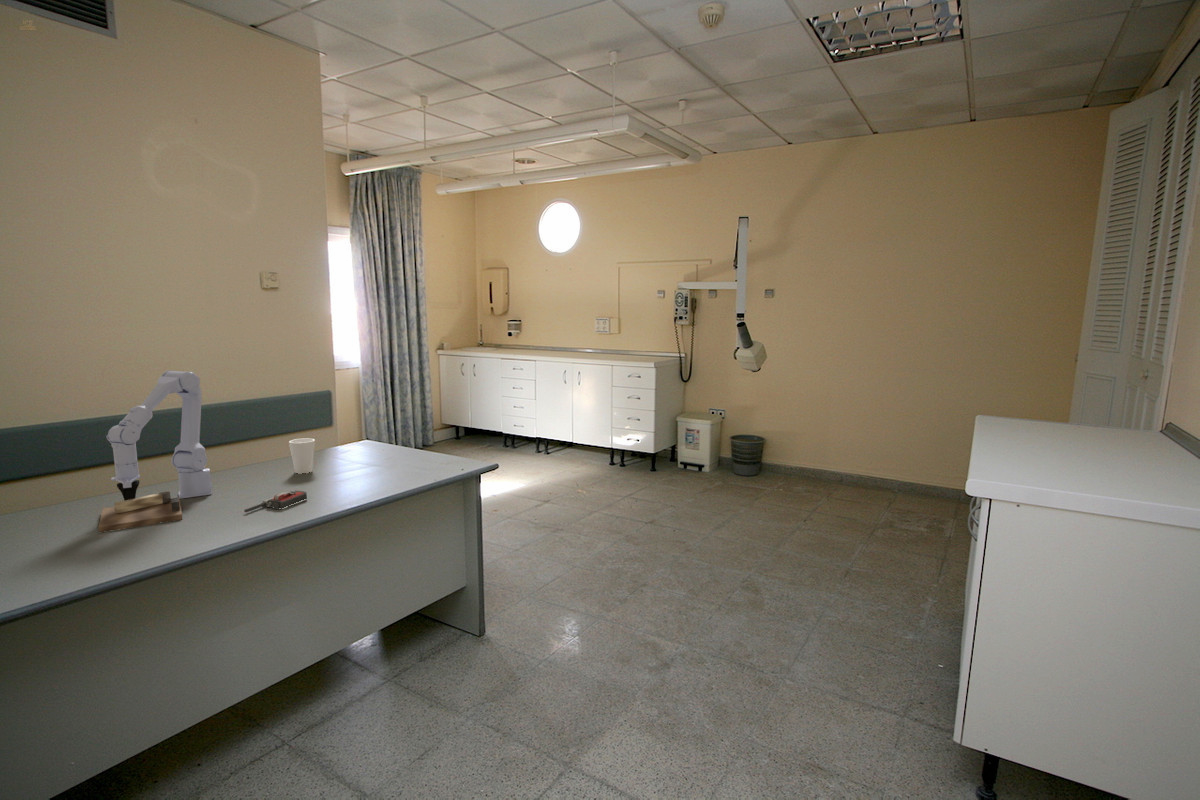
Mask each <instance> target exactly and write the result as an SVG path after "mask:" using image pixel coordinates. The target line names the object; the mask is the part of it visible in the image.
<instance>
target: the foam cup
mask: <svg viewBox="0 0 1200 800" xmlns="http://www.w3.org/2000/svg"><path fill="white" fill-rule="evenodd" d="M288 445H289V450H290V454H291V459H292V460H291V461H292V463H293V464H292V465H293V468H294V469H293V470H294V473H295V474H296V473H298V475H303V474H302V473H306V474H310V473H312V472H313V467H314V456H315V455H314V454H315V446H316V439H315V438H309V437H308V438H307V437H306V438H305V437H304V438H303V437H302V438H295V439H292V440H289V441H288ZM309 472H310V473H309Z"/></svg>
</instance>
